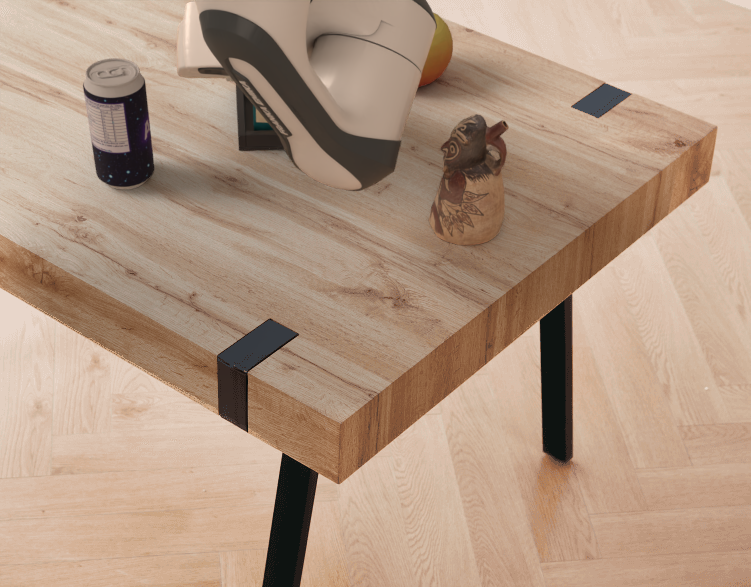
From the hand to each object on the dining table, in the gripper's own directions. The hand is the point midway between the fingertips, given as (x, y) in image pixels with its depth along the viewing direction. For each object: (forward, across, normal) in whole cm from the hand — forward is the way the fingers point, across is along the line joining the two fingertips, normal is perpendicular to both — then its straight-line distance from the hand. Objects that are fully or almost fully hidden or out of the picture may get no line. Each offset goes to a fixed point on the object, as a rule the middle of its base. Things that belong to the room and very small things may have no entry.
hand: (278, 74), depth 114 cm
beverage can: (-5, +15, +12) cm, 20 cm away
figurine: (-10, -18, +17) cm, 27 cm away
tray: (+3, 0, +4) cm, 5 cm away
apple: (+9, -15, -2) cm, 18 cm away
